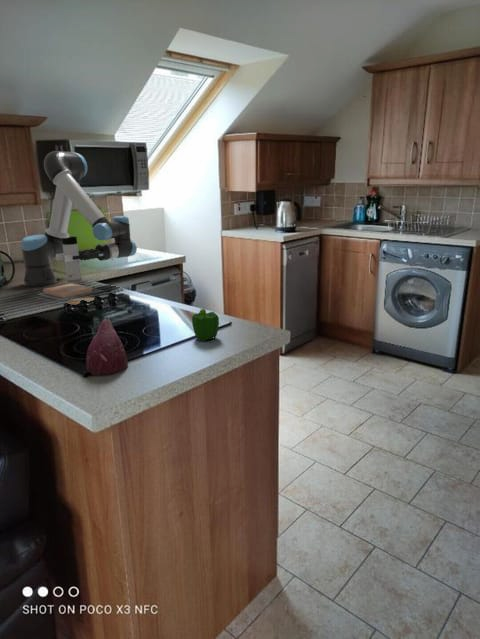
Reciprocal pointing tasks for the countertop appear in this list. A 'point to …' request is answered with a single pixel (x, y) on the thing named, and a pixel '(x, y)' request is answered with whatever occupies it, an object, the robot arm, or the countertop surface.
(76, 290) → the tile
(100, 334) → the vegetable
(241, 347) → the countertop surface
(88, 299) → the coaster
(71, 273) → the travel mug
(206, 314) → the bell pepper
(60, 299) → the mat
